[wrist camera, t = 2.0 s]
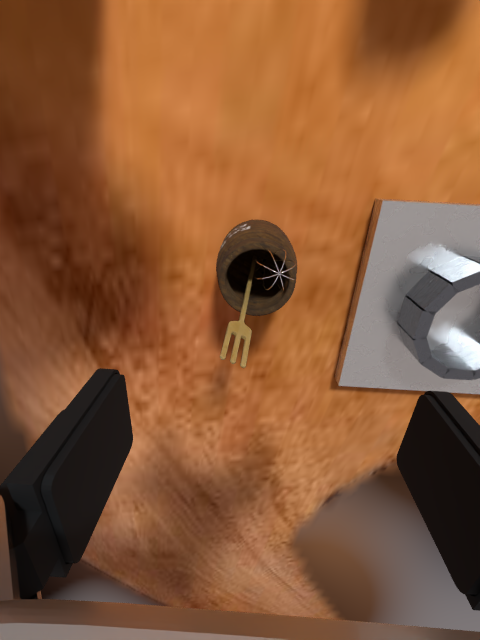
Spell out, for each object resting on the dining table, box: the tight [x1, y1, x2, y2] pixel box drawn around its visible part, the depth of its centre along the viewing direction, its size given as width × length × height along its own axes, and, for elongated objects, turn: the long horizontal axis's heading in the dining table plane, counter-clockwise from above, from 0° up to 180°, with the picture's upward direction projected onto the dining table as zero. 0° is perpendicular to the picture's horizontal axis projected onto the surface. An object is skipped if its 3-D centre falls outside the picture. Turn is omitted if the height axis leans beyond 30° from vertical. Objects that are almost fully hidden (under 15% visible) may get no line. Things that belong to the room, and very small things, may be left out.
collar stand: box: [335, 199, 480, 394], centre depth 26 cm, size 17×17×4 cm
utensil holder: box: [216, 220, 297, 368], centre depth 21 cm, size 6×6×12 cm
